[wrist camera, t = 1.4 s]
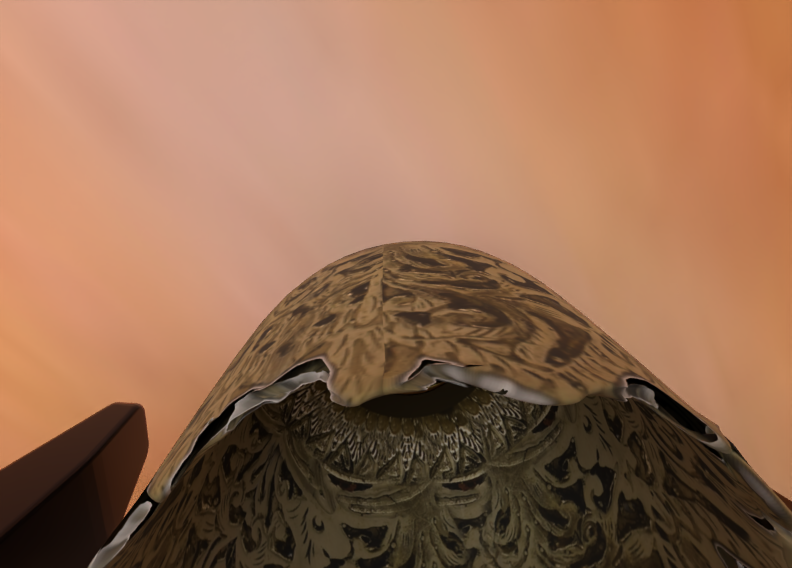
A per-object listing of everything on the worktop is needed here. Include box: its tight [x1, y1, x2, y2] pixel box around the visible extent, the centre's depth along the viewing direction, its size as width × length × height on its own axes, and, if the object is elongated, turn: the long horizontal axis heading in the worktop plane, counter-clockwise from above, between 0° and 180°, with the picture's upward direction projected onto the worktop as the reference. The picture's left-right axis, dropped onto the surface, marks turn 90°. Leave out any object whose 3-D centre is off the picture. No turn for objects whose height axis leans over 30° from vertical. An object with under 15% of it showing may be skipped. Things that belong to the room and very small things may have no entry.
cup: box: [88, 241, 792, 568], centre depth 8 cm, size 8×7×8 cm
